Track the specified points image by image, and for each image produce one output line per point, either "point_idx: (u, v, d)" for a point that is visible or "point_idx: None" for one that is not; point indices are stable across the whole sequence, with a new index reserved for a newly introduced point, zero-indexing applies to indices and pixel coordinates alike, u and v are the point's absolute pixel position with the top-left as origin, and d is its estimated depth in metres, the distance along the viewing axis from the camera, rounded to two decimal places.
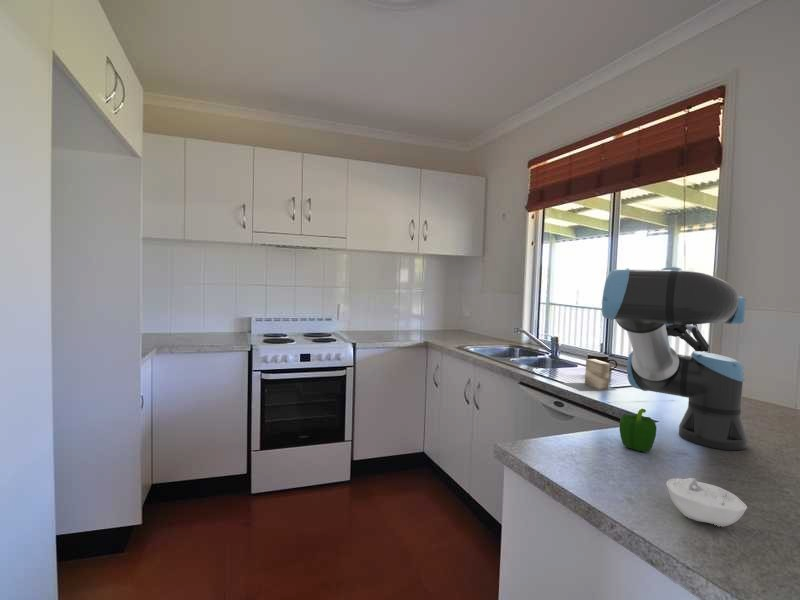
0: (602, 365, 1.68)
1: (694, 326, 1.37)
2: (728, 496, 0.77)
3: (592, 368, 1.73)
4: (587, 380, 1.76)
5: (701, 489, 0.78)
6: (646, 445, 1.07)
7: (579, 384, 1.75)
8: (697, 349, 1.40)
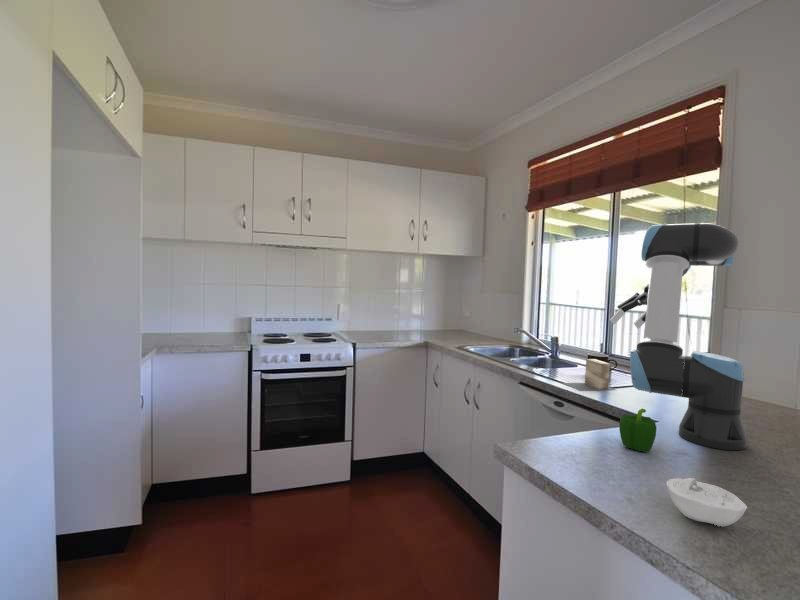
0: (602, 365, 1.68)
1: None
2: (728, 496, 0.77)
3: (592, 368, 1.73)
4: (587, 380, 1.76)
5: (701, 489, 0.78)
6: (646, 445, 1.07)
7: (579, 384, 1.75)
8: None
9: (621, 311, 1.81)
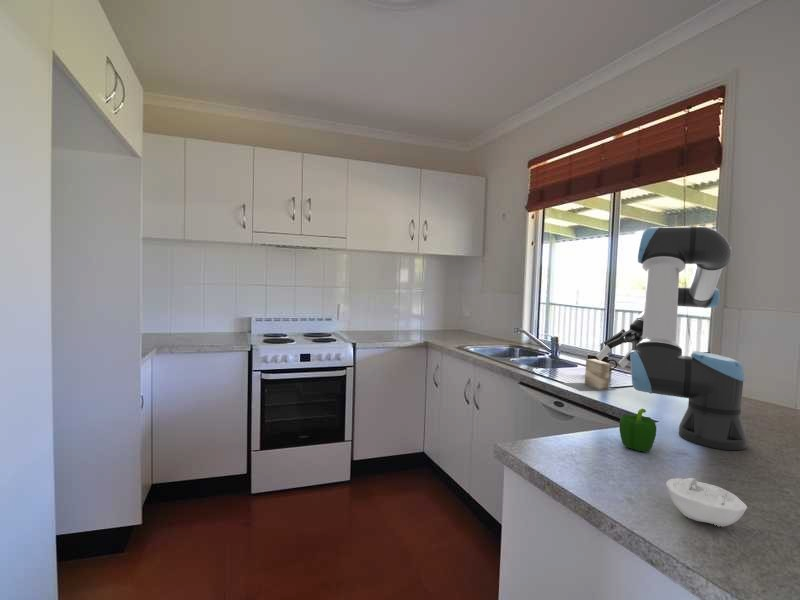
0: (602, 365, 1.68)
1: None
2: (728, 496, 0.77)
3: (592, 368, 1.73)
4: (587, 380, 1.76)
5: (701, 489, 0.78)
6: (646, 445, 1.07)
7: (579, 384, 1.75)
8: (633, 349, 1.68)
9: (607, 348, 1.81)
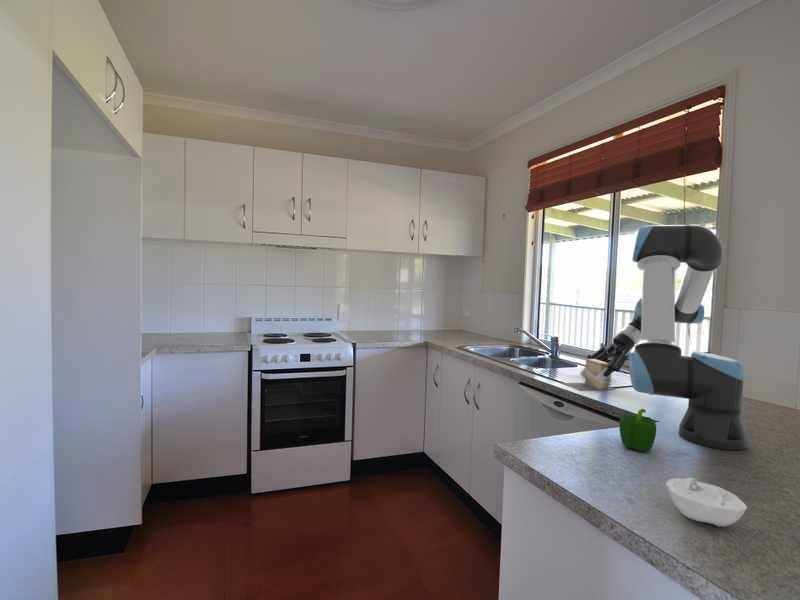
0: (602, 365, 1.68)
1: None
2: (728, 496, 0.77)
3: (592, 368, 1.73)
4: (587, 380, 1.76)
5: (701, 489, 0.78)
6: (646, 445, 1.07)
7: (579, 384, 1.75)
8: (610, 364, 1.68)
9: None
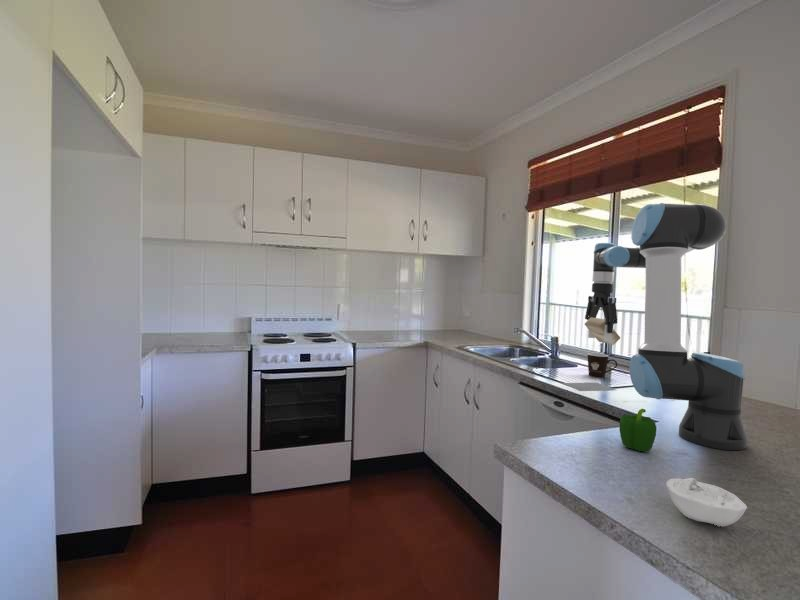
0: (601, 326, 1.67)
1: None
2: (728, 496, 0.77)
3: (595, 330, 1.72)
4: (599, 339, 1.76)
5: (701, 489, 0.78)
6: (646, 445, 1.07)
7: (579, 384, 1.75)
8: (607, 320, 1.66)
9: None
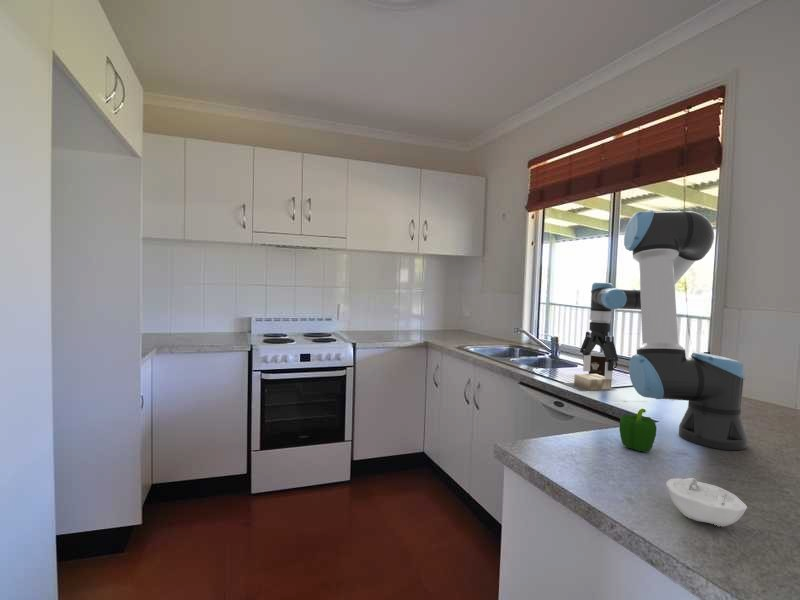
0: (590, 387, 1.67)
1: None
2: (728, 496, 0.77)
3: None
4: None
5: (701, 489, 0.78)
6: (646, 445, 1.07)
7: None
8: (607, 358, 1.65)
9: (586, 357, 1.79)
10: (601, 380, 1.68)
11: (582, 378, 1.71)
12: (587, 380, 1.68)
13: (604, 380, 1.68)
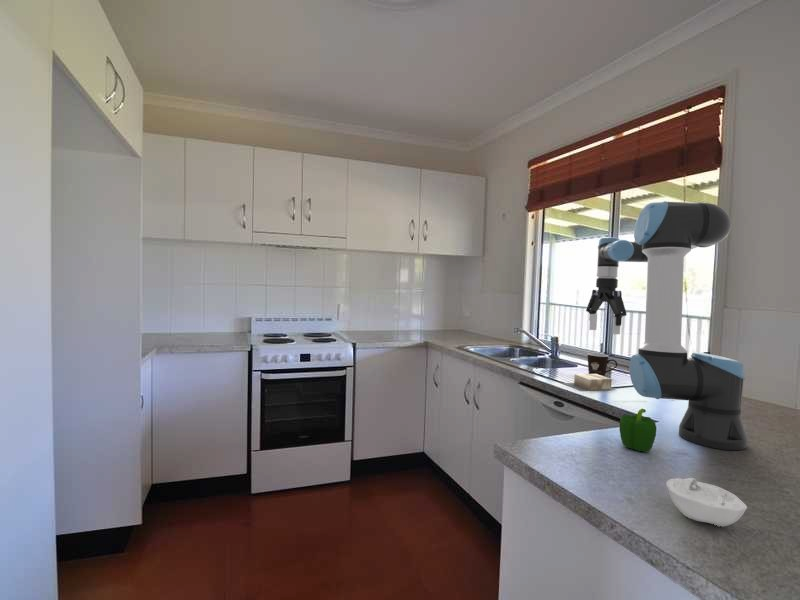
0: (590, 387, 1.67)
1: None
2: (728, 496, 0.77)
3: None
4: None
5: (701, 489, 0.78)
6: (646, 445, 1.07)
7: None
8: (615, 313, 1.63)
9: (593, 315, 1.76)
10: (601, 380, 1.68)
11: (582, 378, 1.71)
12: (587, 380, 1.68)
13: (604, 380, 1.68)
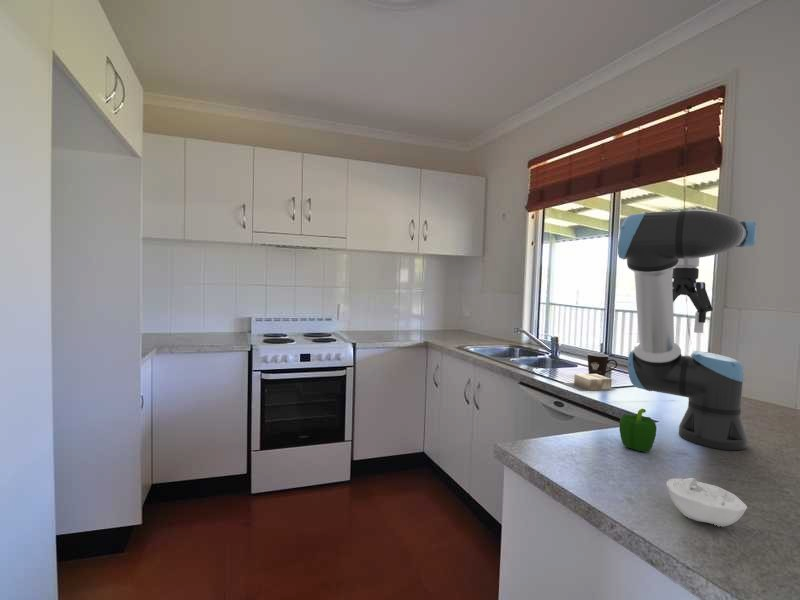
0: (590, 387, 1.67)
1: (700, 282, 1.41)
2: (728, 496, 0.77)
3: None
4: None
5: (701, 489, 0.78)
6: (646, 445, 1.07)
7: None
8: (698, 308, 1.40)
9: None
10: (601, 380, 1.68)
11: (582, 378, 1.71)
12: (587, 380, 1.68)
13: (604, 380, 1.68)
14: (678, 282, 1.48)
